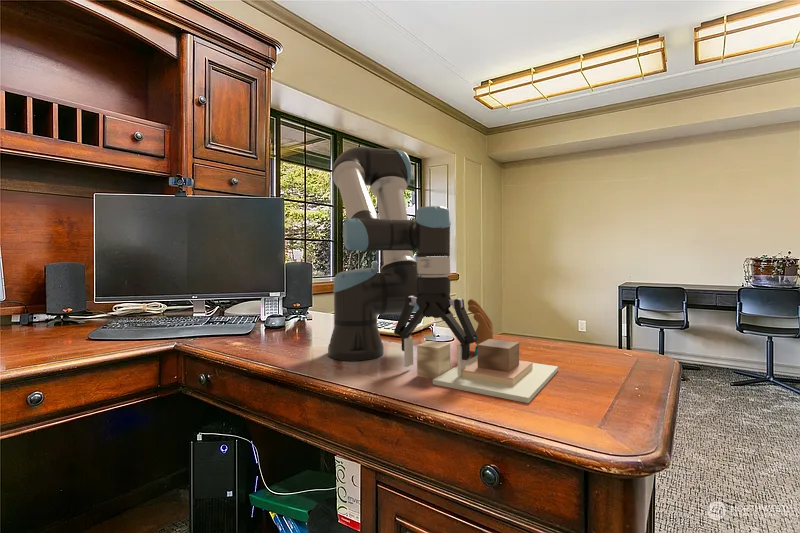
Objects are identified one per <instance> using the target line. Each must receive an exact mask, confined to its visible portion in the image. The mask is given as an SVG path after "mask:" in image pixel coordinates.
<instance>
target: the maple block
mask: <svg viewBox="0 0 800 533" xmlns="http://www.w3.org/2000/svg"><path fill="white" fill-rule="evenodd" d="M416 362H417V363H416V368H417V369H416V373H417V374H416V376H417V377H421V378H427V379H432V380H433V379H435V378H436V377H438V376H440V375H442V374H444V373H445V372H447V371H449V370H451V343H447V342H442V341H441V342H440V341H436V340H427V341H424V342H422V343H420V344H417V345H416Z"/></svg>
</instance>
